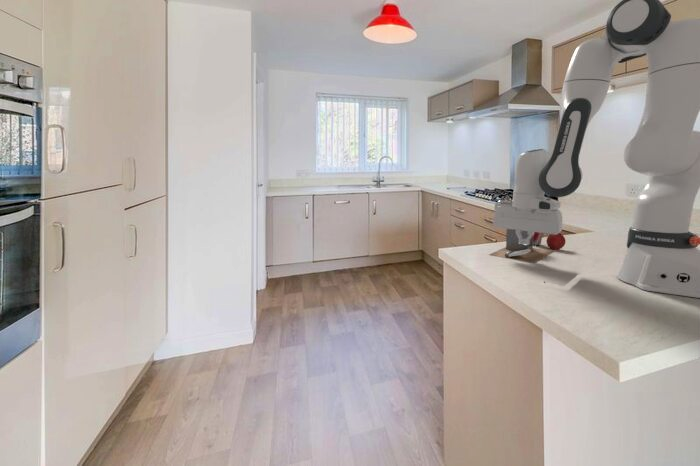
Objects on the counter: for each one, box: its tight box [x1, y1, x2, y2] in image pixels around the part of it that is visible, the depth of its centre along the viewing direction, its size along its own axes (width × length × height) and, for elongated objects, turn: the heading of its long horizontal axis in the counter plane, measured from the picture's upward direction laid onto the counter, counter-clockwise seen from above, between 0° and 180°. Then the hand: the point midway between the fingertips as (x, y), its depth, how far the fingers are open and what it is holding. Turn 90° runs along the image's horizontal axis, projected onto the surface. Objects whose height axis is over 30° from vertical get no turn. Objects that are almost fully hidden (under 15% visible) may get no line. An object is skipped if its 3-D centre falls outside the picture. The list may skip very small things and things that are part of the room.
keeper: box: [505, 249, 531, 257], centre depth 114 cm, size 7×5×1 cm
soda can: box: [533, 232, 543, 246], centre depth 135 cm, size 7×7×12 cm
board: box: [488, 246, 555, 264], centre depth 119 cm, size 15×20×1 cm
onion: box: [546, 232, 566, 251], centre depth 124 cm, size 6×6×8 cm
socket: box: [505, 229, 534, 251], centre depth 123 cm, size 7×6×8 cm
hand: (523, 244), depth 112 cm, fingers closed
